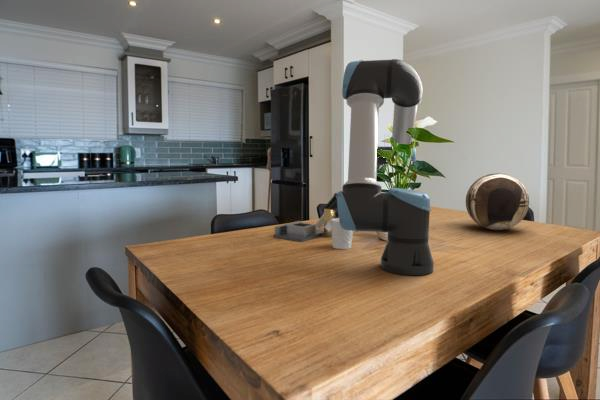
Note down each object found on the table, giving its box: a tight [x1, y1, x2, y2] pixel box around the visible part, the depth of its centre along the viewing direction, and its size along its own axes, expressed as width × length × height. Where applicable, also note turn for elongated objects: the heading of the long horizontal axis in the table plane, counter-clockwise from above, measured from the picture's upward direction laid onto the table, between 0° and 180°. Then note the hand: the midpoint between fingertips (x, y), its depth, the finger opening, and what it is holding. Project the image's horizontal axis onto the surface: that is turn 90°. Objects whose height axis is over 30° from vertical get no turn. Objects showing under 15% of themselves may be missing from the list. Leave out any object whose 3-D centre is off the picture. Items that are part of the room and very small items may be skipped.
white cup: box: [331, 218, 354, 250], centre depth 140 cm, size 8×8×10 cm
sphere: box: [465, 172, 530, 231], centre depth 173 cm, size 25×25×25 cm
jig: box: [273, 220, 324, 243], centre depth 159 cm, size 18×14×5 cm
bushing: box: [323, 209, 336, 238], centre depth 158 cm, size 5×5×11 cm
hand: (322, 227), depth 157 cm, fingers open, 6 cm apart
